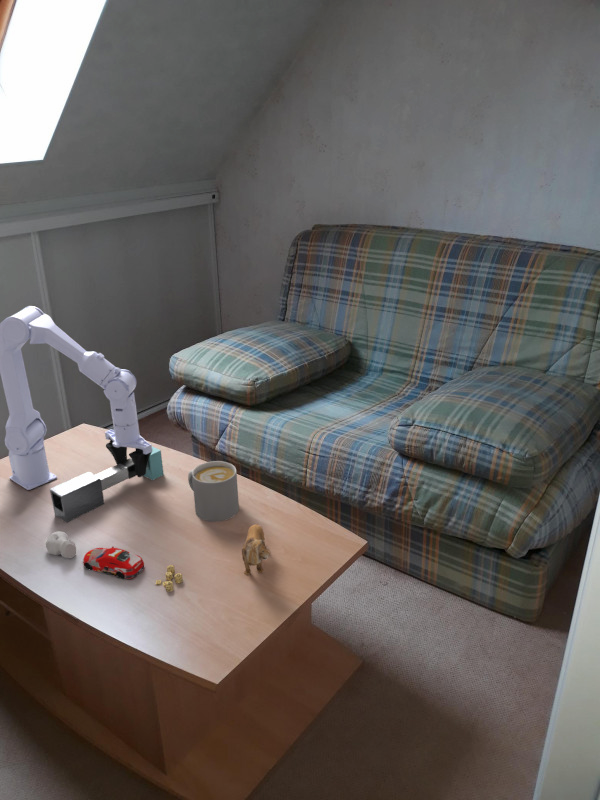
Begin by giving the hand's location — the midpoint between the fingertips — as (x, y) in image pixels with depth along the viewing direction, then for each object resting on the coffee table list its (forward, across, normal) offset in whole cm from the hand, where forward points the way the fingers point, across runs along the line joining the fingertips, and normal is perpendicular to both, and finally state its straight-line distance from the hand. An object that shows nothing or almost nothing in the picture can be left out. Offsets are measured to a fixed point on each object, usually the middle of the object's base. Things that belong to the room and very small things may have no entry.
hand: (132, 471), depth 162 cm
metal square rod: (+1, 0, -4) cm, 4 cm away
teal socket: (+3, 0, +6) cm, 7 cm away
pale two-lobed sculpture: (+4, +9, -28) cm, 29 cm away
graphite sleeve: (+3, -1, -15) cm, 15 cm away
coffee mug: (+4, +23, +4) cm, 24 cm away
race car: (+4, +22, -24) cm, 33 cm away
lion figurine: (+4, +45, -7) cm, 46 cm away
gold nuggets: (+4, +35, -21) cm, 41 cm away
